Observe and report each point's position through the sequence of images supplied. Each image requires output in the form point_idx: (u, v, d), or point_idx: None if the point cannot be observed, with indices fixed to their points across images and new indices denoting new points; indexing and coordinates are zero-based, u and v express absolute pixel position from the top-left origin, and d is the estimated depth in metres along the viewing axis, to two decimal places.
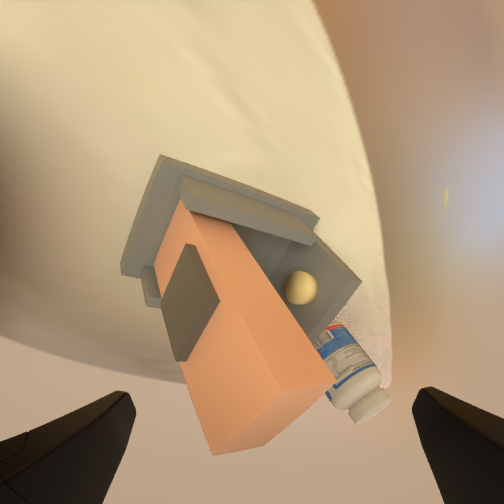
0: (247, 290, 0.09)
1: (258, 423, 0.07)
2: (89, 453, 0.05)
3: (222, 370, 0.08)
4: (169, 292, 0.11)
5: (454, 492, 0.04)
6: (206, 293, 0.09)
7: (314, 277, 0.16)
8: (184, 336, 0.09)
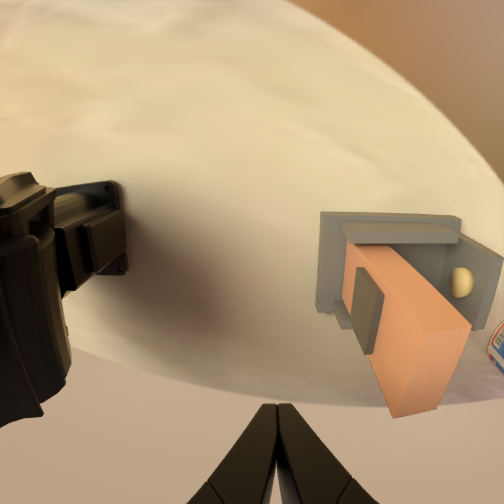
0: (402, 282, 0.11)
1: (420, 374, 0.08)
2: (271, 481, 0.05)
3: (393, 343, 0.10)
4: (353, 307, 0.14)
5: None
6: (374, 292, 0.11)
7: (469, 269, 0.14)
8: (367, 332, 0.12)
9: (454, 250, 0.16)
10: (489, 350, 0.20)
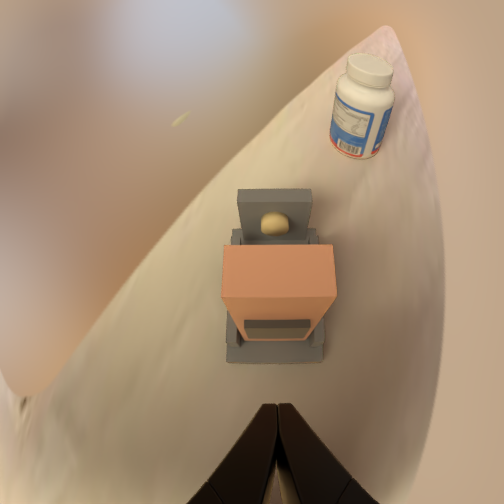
0: None
1: (272, 285, 0.10)
2: (271, 481, 0.05)
3: (269, 310, 0.12)
4: (285, 337, 0.15)
5: None
6: (244, 328, 0.13)
7: (261, 219, 0.20)
8: (285, 329, 0.13)
9: (255, 233, 0.22)
10: (368, 155, 0.26)
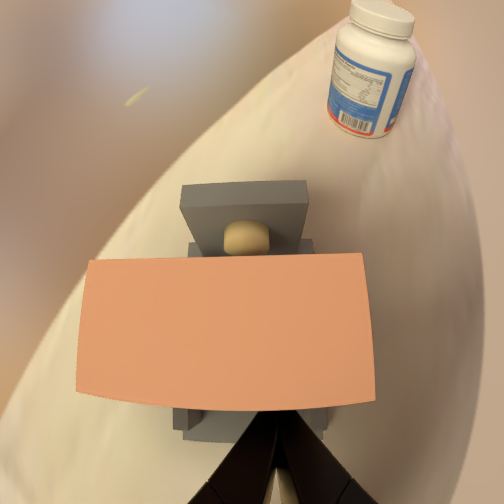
0: None
1: (193, 375, 0.03)
2: (271, 481, 0.05)
3: None
4: None
5: None
6: None
7: (224, 232, 0.12)
8: None
9: (220, 251, 0.14)
10: (380, 134, 0.19)
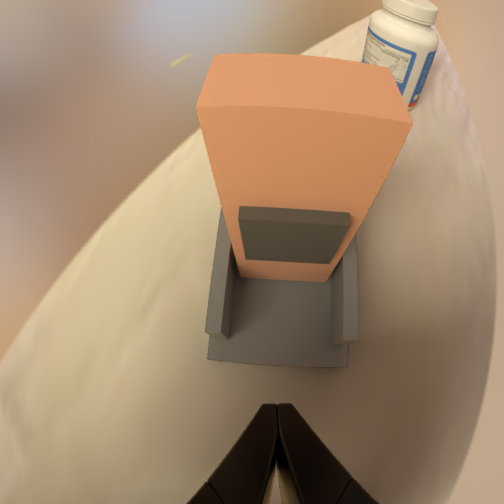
0: None
1: (295, 94, 0.05)
2: (271, 481, 0.05)
3: (285, 169, 0.06)
4: (303, 258, 0.10)
5: None
6: (238, 222, 0.08)
7: None
8: (308, 226, 0.08)
9: None
10: None
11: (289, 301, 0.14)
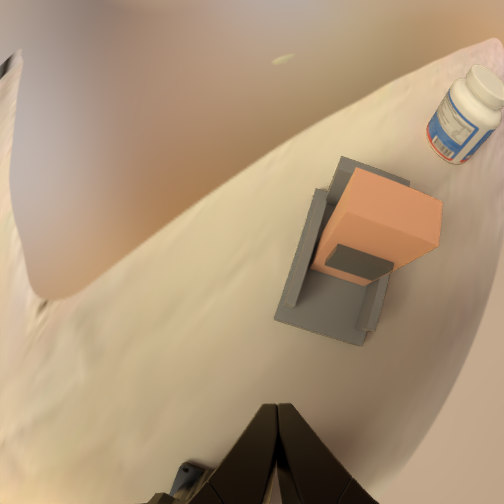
0: (331, 226, 0.14)
1: (391, 216, 0.10)
2: (271, 481, 0.05)
3: (372, 240, 0.12)
4: (359, 274, 0.16)
5: None
6: (334, 252, 0.14)
7: None
8: (371, 264, 0.14)
9: None
10: (457, 162, 0.22)
11: (337, 292, 0.20)
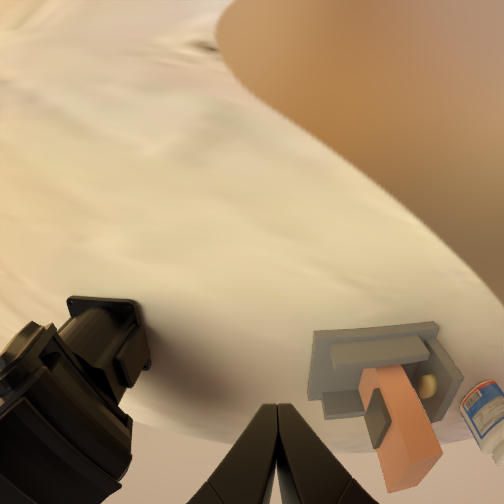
0: (405, 412, 0.14)
1: (406, 476, 0.11)
2: (271, 481, 0.05)
3: (393, 453, 0.12)
4: (368, 412, 0.17)
5: None
6: (385, 419, 0.14)
7: (435, 377, 0.17)
8: (377, 437, 0.15)
9: None
10: (460, 409, 0.23)
11: (349, 373, 0.21)
